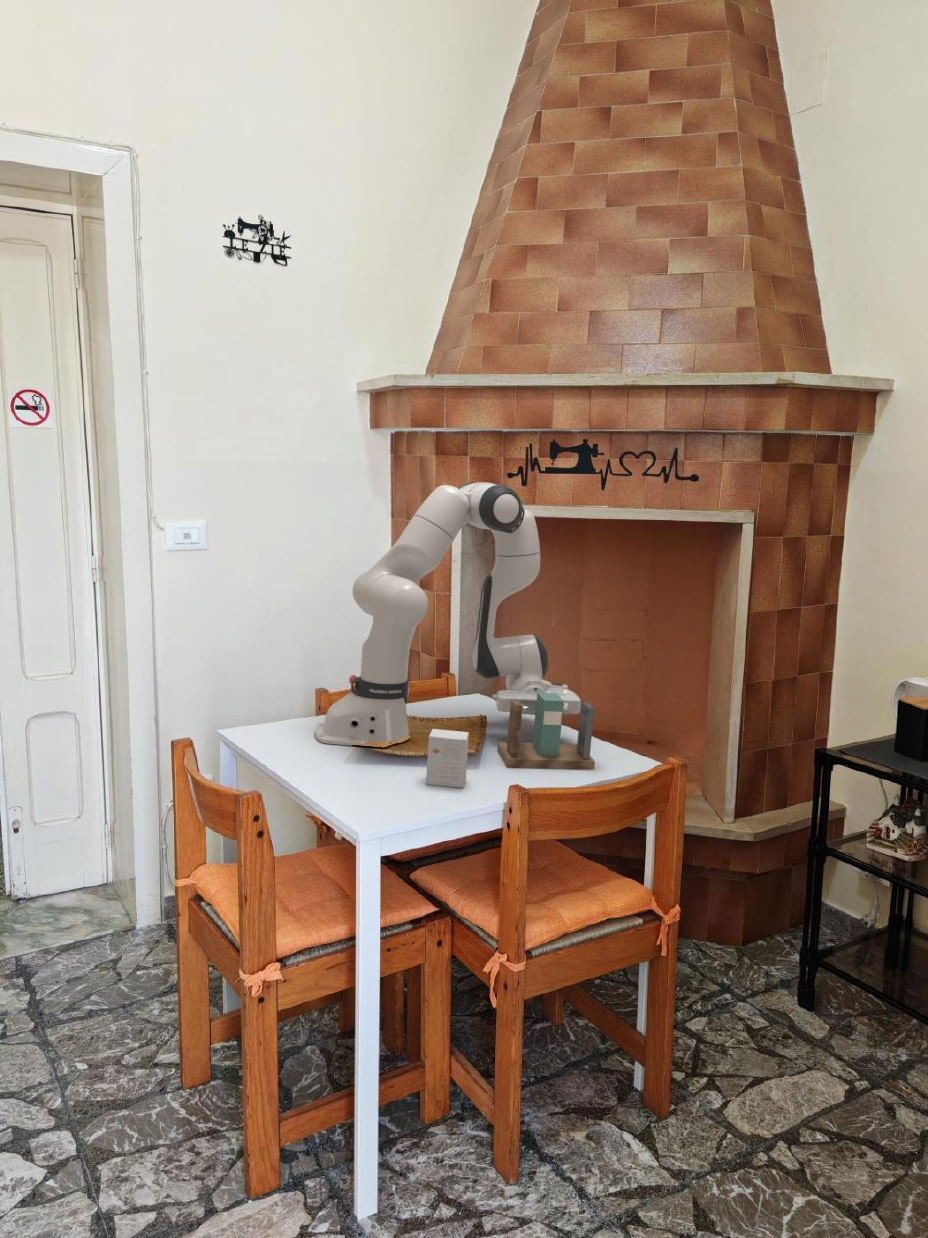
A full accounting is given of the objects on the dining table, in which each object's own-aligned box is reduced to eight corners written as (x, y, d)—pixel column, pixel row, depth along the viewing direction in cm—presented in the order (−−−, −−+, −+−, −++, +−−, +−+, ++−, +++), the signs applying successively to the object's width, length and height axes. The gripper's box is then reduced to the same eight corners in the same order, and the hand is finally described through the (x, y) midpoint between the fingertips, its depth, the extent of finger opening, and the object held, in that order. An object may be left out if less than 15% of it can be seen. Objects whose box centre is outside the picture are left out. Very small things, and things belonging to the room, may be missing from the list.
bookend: (582, 759, 208) (588, 708, 206) (576, 751, 214) (581, 701, 212) (589, 759, 209) (594, 708, 206) (582, 751, 214) (587, 701, 212)
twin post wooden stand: (507, 767, 205) (512, 706, 203) (497, 750, 217) (502, 692, 214) (593, 769, 208) (600, 709, 206) (579, 752, 220) (585, 695, 217)
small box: (466, 779, 195) (470, 732, 193) (463, 789, 190) (467, 739, 188) (428, 775, 196) (432, 728, 194) (425, 784, 190) (428, 735, 189)
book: (539, 756, 208) (544, 700, 206) (532, 746, 215) (537, 692, 213) (558, 757, 209) (564, 701, 206) (550, 746, 216) (556, 693, 214)
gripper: (491, 681, 226) (501, 696, 212) (572, 685, 229) (587, 699, 215) (489, 706, 227) (499, 723, 213) (570, 709, 230) (585, 726, 217)
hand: (544, 711), depth 214 cm, fingers open, 8 cm apart
